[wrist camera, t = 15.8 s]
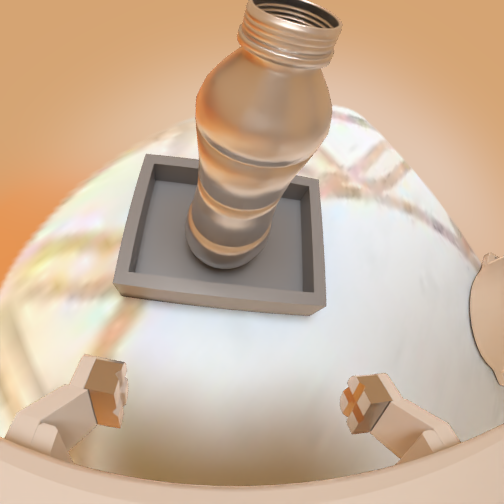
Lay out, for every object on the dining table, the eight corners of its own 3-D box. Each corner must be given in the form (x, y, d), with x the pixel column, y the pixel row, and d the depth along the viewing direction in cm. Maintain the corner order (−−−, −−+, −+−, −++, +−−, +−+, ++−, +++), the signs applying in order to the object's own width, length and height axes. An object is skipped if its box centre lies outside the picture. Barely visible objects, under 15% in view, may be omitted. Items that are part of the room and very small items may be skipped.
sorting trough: (305, 199, 31) (318, 179, 28) (309, 315, 26) (326, 306, 23) (148, 177, 29) (145, 154, 26) (121, 295, 24) (113, 283, 21)
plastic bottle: (171, 226, 26) (176, -14, 8) (237, 197, 29) (307, -13, 11) (207, 290, 24) (273, 56, 7) (276, 254, 27) (408, 55, 9)
